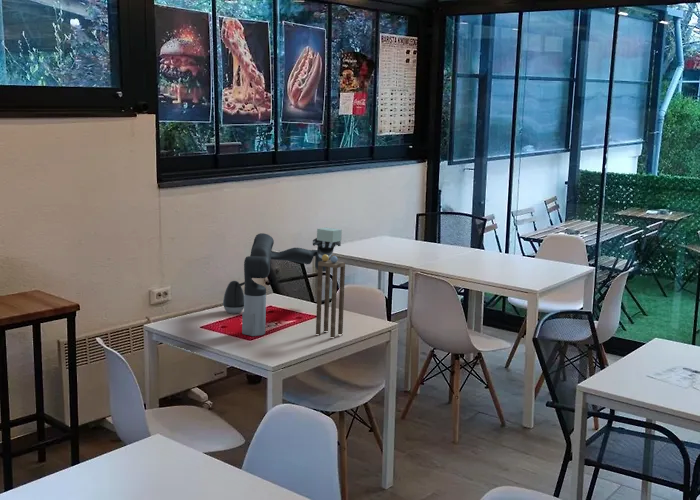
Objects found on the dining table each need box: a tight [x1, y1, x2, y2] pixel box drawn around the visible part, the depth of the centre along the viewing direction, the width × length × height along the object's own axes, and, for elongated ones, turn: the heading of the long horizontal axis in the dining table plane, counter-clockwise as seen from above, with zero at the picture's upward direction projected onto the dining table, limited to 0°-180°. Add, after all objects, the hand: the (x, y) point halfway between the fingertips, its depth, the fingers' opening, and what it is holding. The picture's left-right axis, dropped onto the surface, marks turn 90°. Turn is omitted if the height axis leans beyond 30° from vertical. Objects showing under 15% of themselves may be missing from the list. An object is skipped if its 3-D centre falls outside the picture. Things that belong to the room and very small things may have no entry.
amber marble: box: [322, 254, 329, 261], centre depth 333 cm, size 3×3×3 cm
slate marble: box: [330, 255, 338, 263], centre depth 330 cm, size 3×3×3 cm
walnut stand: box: [315, 259, 346, 338], centre depth 335 cm, size 7×9×32 cm
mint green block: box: [316, 227, 343, 242], centre depth 353 cm, size 15×15×5 cm
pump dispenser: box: [222, 280, 245, 315], centre depth 368 cm, size 10×10×15 cm
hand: (328, 235), depth 354 cm, fingers closed on mint green block
